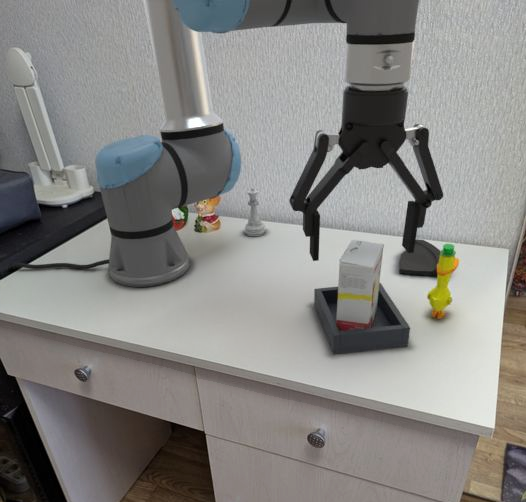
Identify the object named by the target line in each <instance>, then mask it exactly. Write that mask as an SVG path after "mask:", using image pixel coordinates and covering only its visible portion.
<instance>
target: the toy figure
mask: <svg viewBox="0 0 526 502" xmlns="http://www.w3.org/2000/svg"><path fill="white" fill-rule="evenodd" d="M456 253H457V252H456V250H455V245H454V244H452V243H445V244H443V246H442V249H441V250H440V258H439V263H438V264H437V273H438V275H437V276H436V286H434V288H432V289H431V290H429V291H428V293H427V296H426V298H427V300H429V305H430V307H431V308H432V312H431V315H430V317H431V318H436V319H437V320H441V319H443V318H444V317H445V315H446V311H445V309H446V308H447V307H448V306H450V305H451V304H452V302H453V297H452V296H451V295H452V294H451V291H450V289H449V288H448V285H449V283H450V280H451V277H452V273H454V272H455V271H456V270H457V268H458V267H459V264H460V259H459V258H457V257H456Z"/></svg>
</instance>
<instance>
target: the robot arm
mask: <svg viewBox="0 0 526 502" xmlns="http://www.w3.org/2000/svg"><path fill="white" fill-rule="evenodd" d="M142 2H143V7H144V11H145V18H146V22H147V23H146V24H147V27H148V32H149V33H148V34H149V37H150V43H151V49H152V52H153V58H154V63H155V68H156V74H157V79H158V84H159V88H160V89H159V90H160V94H161V99H162V104H163V109H164V115H165V119H164V121H163V123H162V125H161V126H160V128H159V133H160V138H161V139H160V138H159V137H157V136H155V135H149V134H148V135H145V134H143V135H138V136H135V137H134V136H129V137H126V138H122V139H119V140H116V141H113V142H111V143H109V144H107V145H105V146H104V147H102V148H100V150H99V151H98V152H97V154H96V156H95V159H94V165H95V170H96V181H97V185H98V187H99V190H100V194H101V198H102V202H103V207H104V210H105V215H106V220H107V224H108V227H109V231H110V236H111V237H110V250H109V256H108V257H109V258H108V259H104V260H100V261H95V262H92V263H87V264H77V263H70V262H69V263H68V262H54V263H43V264H42V263H41V264H32V263H31V264H30V263H24V262H13V263H14V266H8V265H7V266H6V267H5V269H4V272H9V271H11V270H12V269H13V268H16V267H17V268H25V269H29V270H30V269H31V270H41V269H52V268H53V269H54V268H71V269H77V270H88V269H93V268H96V267H100V266H104V265H108V269H109V274H110V278H111V279H112V280H113V281H114V282H116V283H117V284H119V285H122V286H127V287H133V288H135V287H136V288H144V287H146V288H147V287H153V286H159V285H163V284H166V283H170V282H172V281H174V280H177V279H178V278H180V277H182V276H183V275H184V274H186V273H187V272H188V270H189V269H190V268H189V267H190V258H189V253H188V252H187V250H186V248H185V245H184V243H183V241H182V240H181V238H180V236H179V234H178V231H177V230H176V228H175V223H174V218H173V217H174V216H173V210H176V209H179V208H182V207H186V206H189V205H192V204H196V203H200V202H203V201H207V200H213V199H215V198H218V197H220V196H221V195H224V194H226V193H229V192H230V191H232V190H233V189H234V187H235V186H236V184H237V183H238V181H239V179H240V175H241V170H242V154H241V149H240V146H239V144H238V142H236V138H235V136H234V134H233V133H231V131H229V130H228V129H225V127H224V120H223V119H222V118H221V117H219V116H218V115H217V114H216V113H215V111H214V109H213V108H214V107H213V102H212V95H211V90H210V89H211V88H210V83H209V75H208V69H207V62H206V55H205V50H204V43H203V36H202V33H214V34H226V33H230V32H234V31H243V30H252V29H262V28H273V27H286V26H298V25H309V24H346V36H345V53H344V54H345V55H344V57H345V58H344V70H343V81H344V82H345V83H346V84H347V85H348V86H345V88H344V89H343V90H342V91H343V92H342V107H341V109H342V110H341V126H340V129H339V131H338V133H335V132H325V131H324V130H322V129H319V130H317V131H316V132H315V135H314V142H313V149H312V151H311V153H310V156H309V157H308V160H307V162H306V164H305V166H304V168H303V170H302V172H301V174H300V176H299V179H298V180H297V183H296V184H295V187H294V189H293V190H292V193H291V195H290V198H289V200H288V202H289V204H290V207H291V209H292V211H294V212H301V213H302V231H303V233H304V235H305V237H306V238H308V237H309V254H310V255H309V256H310V257H311V259H312V262H316V261H319V259H320V258H319V257H320V233H321V232H320V230H321V214H320V212H319V211H318V209H319V207H320V206H321V205H323V203H324V202H325V200H326V199H327V198H328V197H329V195H330V194H331V193H332V192H333V191H334V190H335V188H336V187H337V186H338V185H339V183H341V181H342V180H343V179H344V178H345V176H346V175H348V174H350V173H351V171H352V170H353V169H354V168H356V169H358V170H367V169H370V168H374V169H384V167H385V166H386V165H389V166H390V167H391V169H392V170H393V171H394V173H395V174H396V175H397V177H398V178H399V179H400V182H402V184H403V185H404V186H405V188H406V189H407V191H408V192H409V193H410V195H411V196H412V197H413V199H414V200H408V201H407V208H406V214H405V220H404V227H403V234H402V241H401V246H402V247H403V248H404V251H407V252H408V253H414V247H415V240H416V239H417V233H418V229H420V228H423V227H424V225H425V220H426V215H427V209H429V208H431V206H432V202H435V201H441V200H442V199H443V198H444V192H443V189H442V185H441V182H440V179H439V176H438V173H437V169H436V166H435V164H434V160H433V158H432V154H431V151H430V150H431V149H430V148H429V140H430V139H429V137H430V129H429V128H428V127H426V126H424V125H422V124H420V123H415V124H414V125H413V126H412V127H408V128H405V121H406V114H407V106H408V98H409V89H408V87H407V86H406V85H405V83H407V82H409V81H410V80H411V72H412V64H413V56H414V50H415V49H414V48H415V37H416V26H417V25H416V24H417V18H418V11H419V4H420V0H142ZM406 140H407V143H408V144H409V145H410V146H412V150H413V153H414V156H415V159H416V162H417V165H418V168H419V170H420V171H419V172H420V174H421V176H422V177H421V178H422V180H423V183H424V185H425V190H423V189H422V187H421V186H420V184H419V183H418V181H417V180H416V179H415V177H414V175H413V174H412V173H411V171H410V170H409V168H408V167H407V165H406V164H405V162H404V161H403V159H402V158H401V157H400V155H399V154H398V151H399V150H400V149H401V148H402V146H403V144H404V143H405V142H406ZM336 145H338V147H339V148H340V150H341V153H340V154H339V155H337V158H335V160H334V163H333V165H331V167H330V168H329V170H328V171H327V172H326V173H325V174H324V176H323V177H322V178H321V179H320V180H319V182H318V183H317V185H316V186H315V187H314V188H313V189H312V187H313V185H314V183H315V181H316V179H317V177H318V176H319V175H318V174H319V173H320V171H321V169H322V166H323V164H324V163H325V160H326V158H327V155H328V153H331V151H332V150H333V148H334V147H335V146H336ZM311 189H312V190H311ZM310 191H311V192H310Z"/></svg>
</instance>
